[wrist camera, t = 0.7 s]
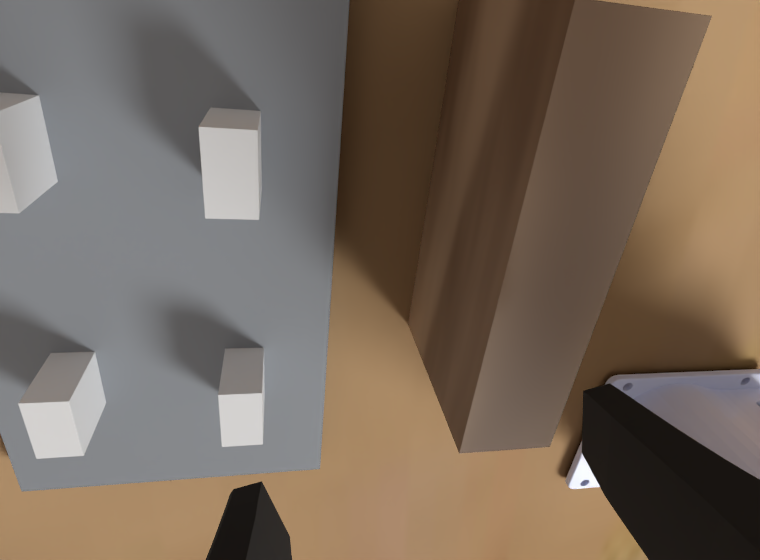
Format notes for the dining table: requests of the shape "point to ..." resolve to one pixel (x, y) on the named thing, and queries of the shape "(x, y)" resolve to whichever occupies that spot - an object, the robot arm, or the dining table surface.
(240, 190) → the hinge board
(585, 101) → the cabinet door
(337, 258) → the dining table surface
